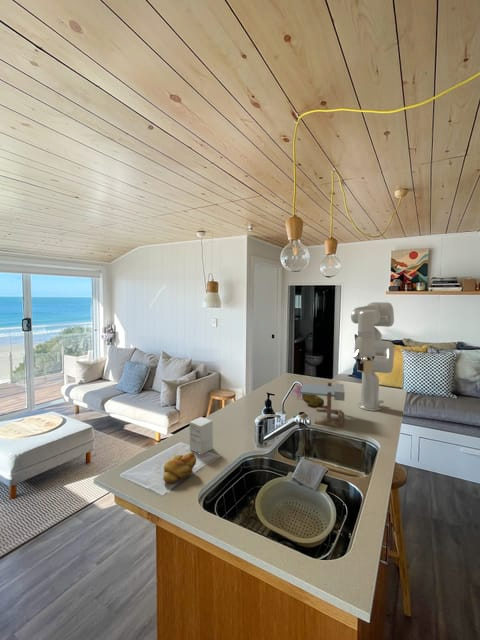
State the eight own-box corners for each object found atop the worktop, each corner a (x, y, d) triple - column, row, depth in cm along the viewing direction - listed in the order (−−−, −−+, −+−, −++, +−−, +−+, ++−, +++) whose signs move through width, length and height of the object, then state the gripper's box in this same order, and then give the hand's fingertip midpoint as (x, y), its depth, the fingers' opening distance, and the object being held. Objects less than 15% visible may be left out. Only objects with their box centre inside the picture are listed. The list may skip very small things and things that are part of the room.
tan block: (364, 370, 162) (364, 358, 161) (372, 372, 157) (372, 360, 157) (357, 370, 160) (357, 359, 159) (364, 373, 155) (365, 361, 155)
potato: (319, 409, 182) (319, 396, 181) (299, 404, 190) (300, 391, 190) (325, 405, 188) (325, 393, 188) (306, 401, 196) (306, 388, 196)
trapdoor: (343, 391, 174) (343, 384, 174) (344, 400, 159) (344, 392, 159) (302, 388, 181) (303, 381, 180) (300, 396, 165) (300, 388, 165)
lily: (288, 399, 203) (290, 389, 198) (294, 388, 212) (297, 378, 207) (305, 407, 199) (308, 397, 193) (311, 396, 207) (314, 385, 202)
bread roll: (171, 489, 106) (171, 467, 105) (154, 479, 112) (154, 457, 111) (199, 473, 115) (199, 452, 115) (182, 464, 122) (182, 444, 121)
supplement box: (201, 443, 139) (201, 416, 138) (213, 448, 134) (213, 420, 133) (189, 449, 133) (188, 421, 132) (201, 455, 128) (200, 426, 127)
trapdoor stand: (341, 411, 178) (342, 383, 177) (342, 426, 157) (343, 394, 156) (316, 409, 182) (317, 381, 181) (314, 423, 161) (315, 391, 160)
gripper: (372, 333, 164) (371, 366, 165) (347, 335, 157) (346, 370, 159) (383, 335, 157) (382, 370, 158) (358, 336, 150) (357, 373, 152)
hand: (364, 369), depth 158 cm, fingers closed on tan block, 5 cm apart
